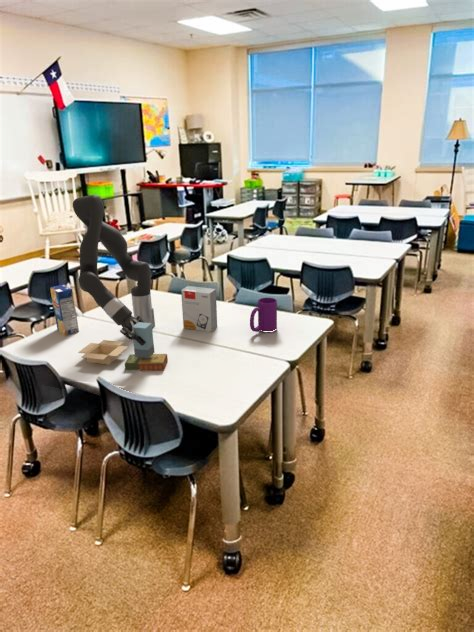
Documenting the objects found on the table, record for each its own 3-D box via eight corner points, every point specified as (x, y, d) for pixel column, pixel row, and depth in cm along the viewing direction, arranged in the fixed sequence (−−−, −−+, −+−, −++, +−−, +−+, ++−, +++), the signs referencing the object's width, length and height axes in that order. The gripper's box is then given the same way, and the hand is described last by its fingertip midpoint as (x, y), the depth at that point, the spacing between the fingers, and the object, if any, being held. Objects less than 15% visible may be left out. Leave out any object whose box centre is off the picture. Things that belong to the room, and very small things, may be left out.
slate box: (134, 356, 191) (131, 327, 186) (141, 351, 196) (138, 322, 191) (148, 358, 189) (145, 328, 185) (154, 352, 194) (151, 323, 190)
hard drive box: (182, 328, 232) (180, 290, 225) (190, 323, 238) (187, 285, 231) (211, 332, 226) (209, 293, 219) (218, 326, 233) (216, 288, 226)
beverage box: (65, 335, 228) (58, 292, 220) (57, 329, 236) (49, 287, 228) (79, 331, 232) (72, 289, 224) (70, 325, 240) (63, 284, 232)
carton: (164, 371, 190) (163, 362, 189) (125, 371, 191) (123, 362, 190) (167, 362, 198) (167, 353, 197) (130, 362, 199) (129, 353, 197)
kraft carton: (74, 366, 196) (72, 356, 194) (97, 349, 212) (95, 339, 210) (113, 370, 191) (112, 360, 190) (133, 352, 207) (132, 342, 206)
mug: (281, 329, 227) (281, 300, 222) (257, 338, 218) (257, 308, 212) (267, 324, 234) (267, 296, 228) (244, 333, 224) (243, 303, 219)
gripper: (113, 311, 181) (145, 342, 182) (131, 299, 194) (160, 329, 195) (103, 323, 184) (133, 354, 185) (121, 310, 197) (149, 339, 198)
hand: (147, 341), depth 190 cm, fingers closed on slate box, 5 cm apart
